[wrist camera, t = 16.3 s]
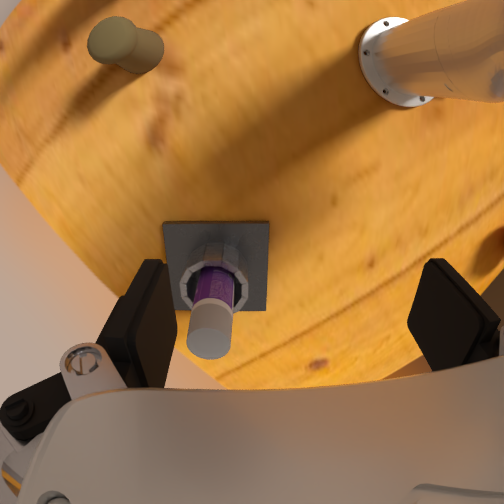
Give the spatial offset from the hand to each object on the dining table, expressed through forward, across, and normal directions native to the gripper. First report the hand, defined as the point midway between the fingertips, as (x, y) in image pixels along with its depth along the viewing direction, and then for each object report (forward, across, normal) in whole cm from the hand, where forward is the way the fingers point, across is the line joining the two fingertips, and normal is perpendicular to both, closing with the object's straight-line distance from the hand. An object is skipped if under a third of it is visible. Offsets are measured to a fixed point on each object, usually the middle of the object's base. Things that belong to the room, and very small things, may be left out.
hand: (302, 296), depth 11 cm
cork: (+31, +15, -14) cm, 37 cm away
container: (+30, +6, +16) cm, 34 cm away
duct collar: (+30, +6, +16) cm, 35 cm away
